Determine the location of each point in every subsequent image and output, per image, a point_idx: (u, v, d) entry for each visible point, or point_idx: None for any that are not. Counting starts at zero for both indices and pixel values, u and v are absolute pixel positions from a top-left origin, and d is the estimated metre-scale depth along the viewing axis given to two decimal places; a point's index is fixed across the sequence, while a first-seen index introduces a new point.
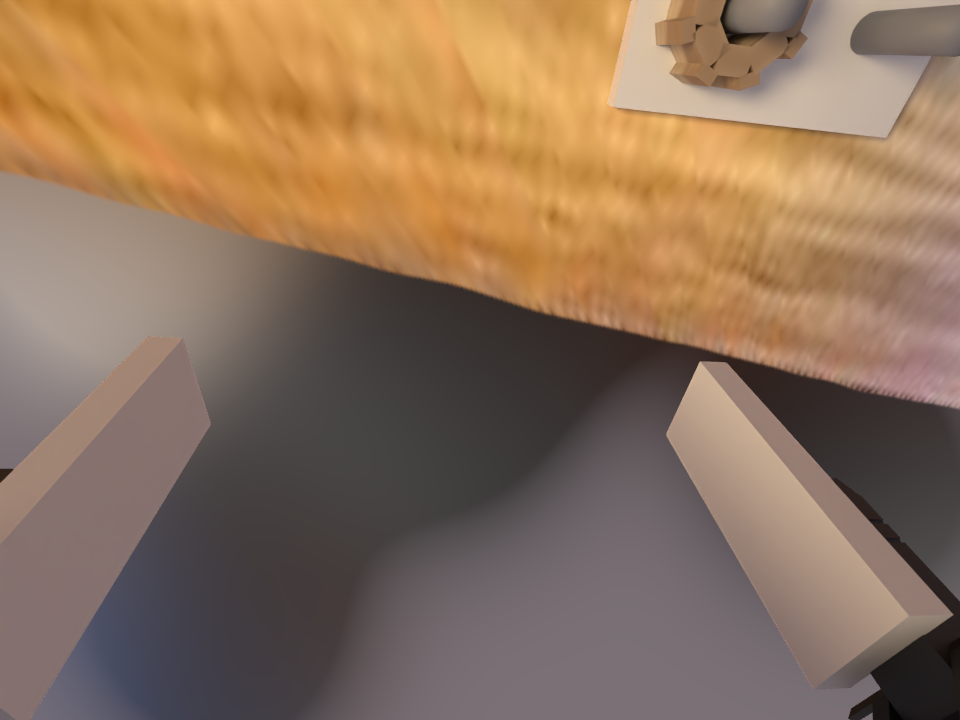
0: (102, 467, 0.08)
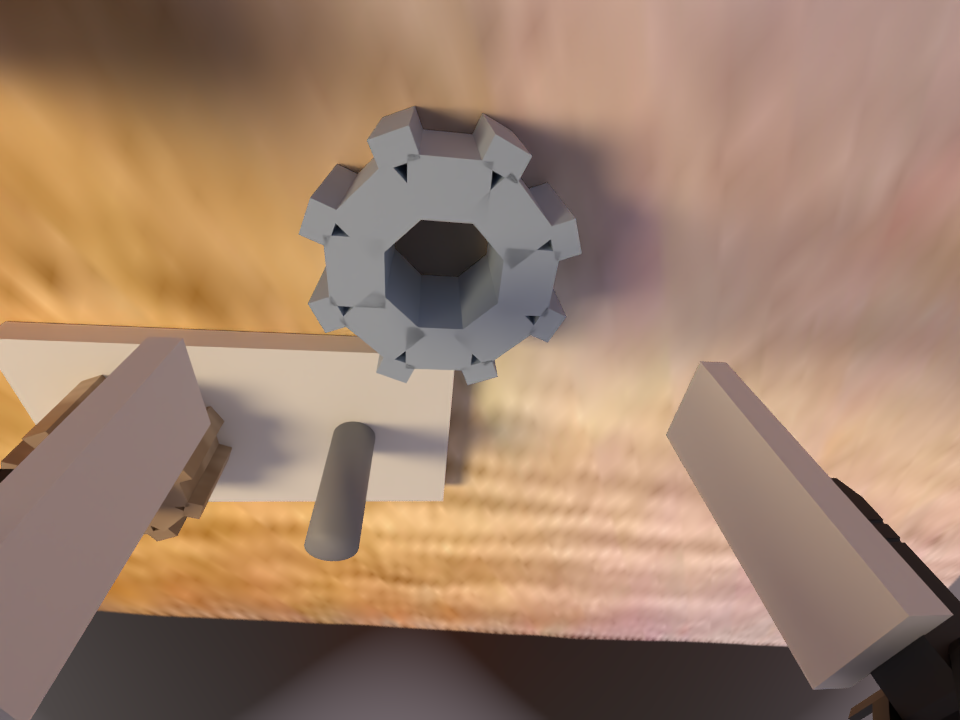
0: (102, 467, 0.08)
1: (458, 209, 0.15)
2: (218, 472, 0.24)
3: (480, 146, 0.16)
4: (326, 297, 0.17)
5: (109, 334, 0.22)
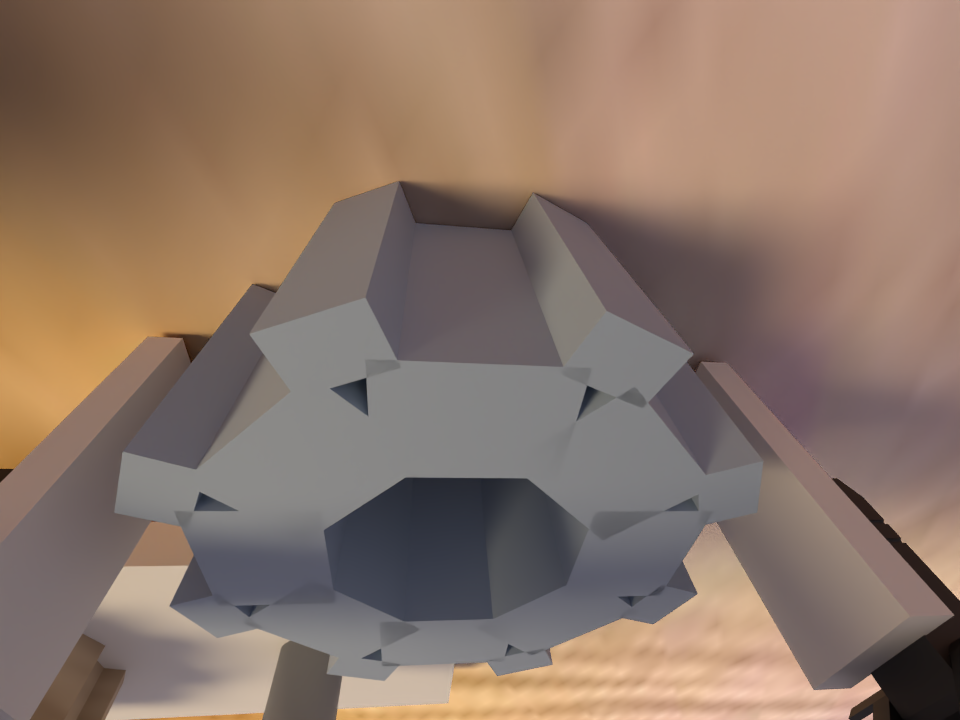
0: (102, 467, 0.08)
1: (495, 456, 0.06)
2: None
3: (544, 296, 0.07)
4: (208, 592, 0.08)
5: None
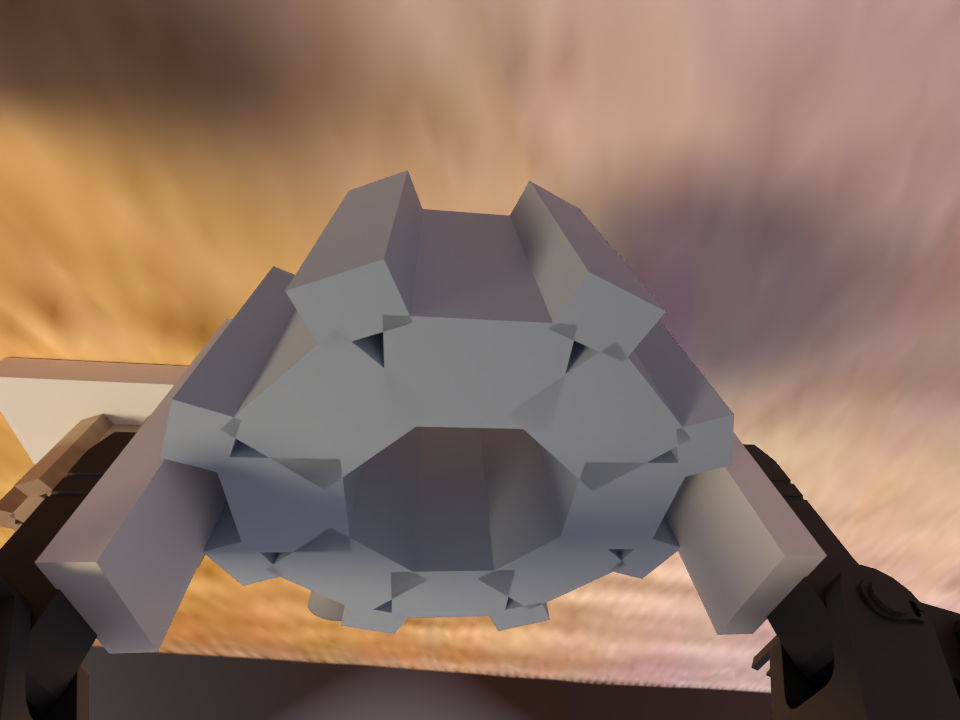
0: None
1: (494, 407, 0.07)
2: None
3: (538, 268, 0.08)
4: (237, 540, 0.09)
5: (111, 372, 0.21)
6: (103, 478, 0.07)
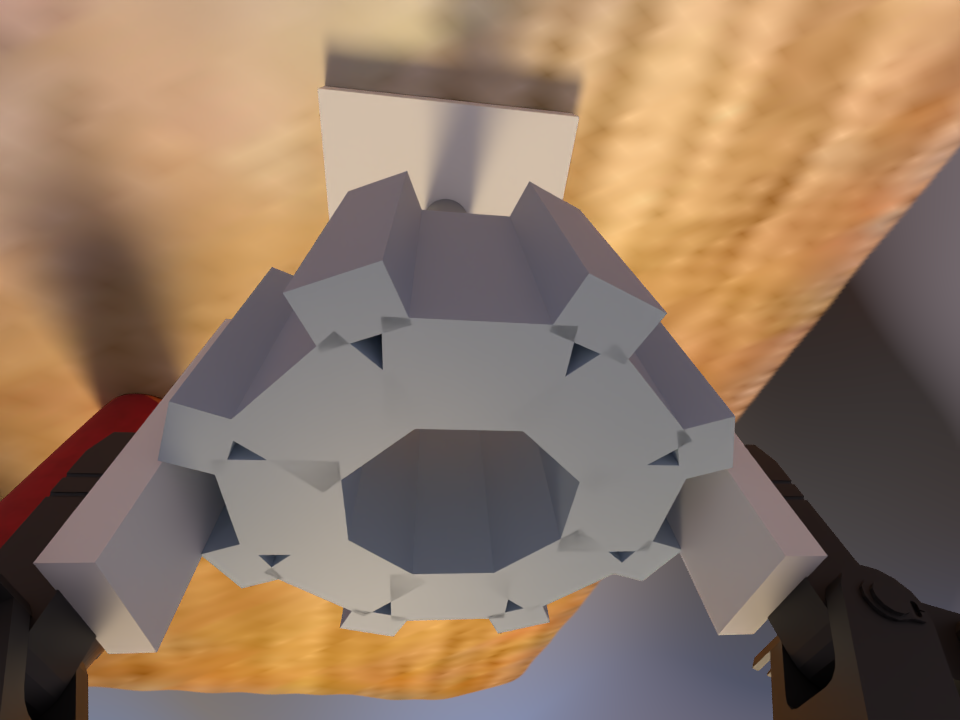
0: None
1: (494, 409, 0.07)
2: None
3: (538, 269, 0.08)
4: (235, 542, 0.09)
5: None
6: (102, 478, 0.07)
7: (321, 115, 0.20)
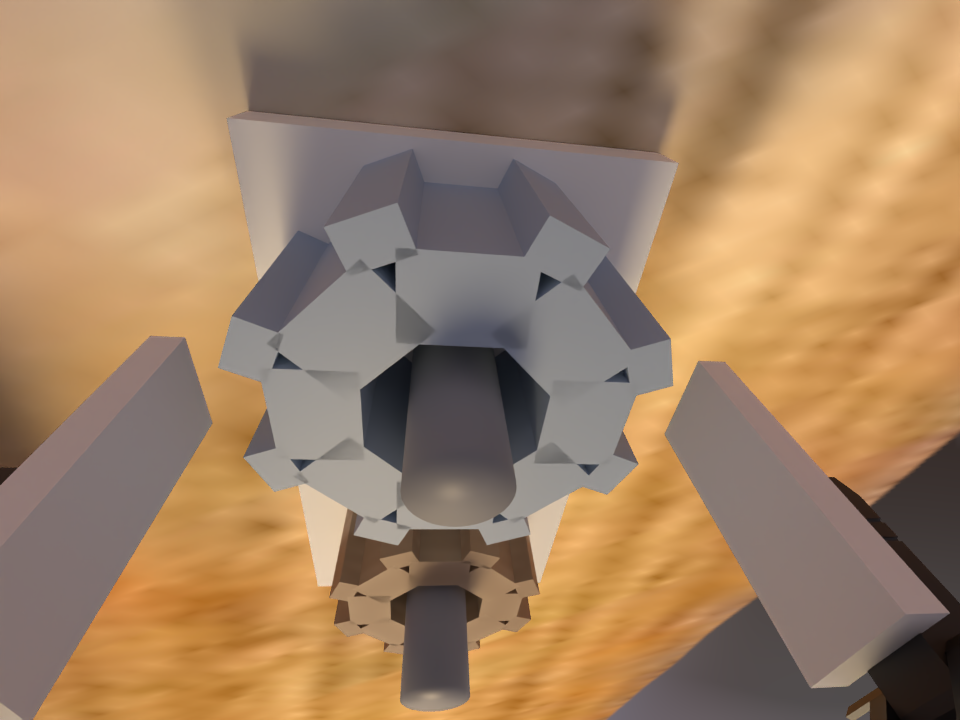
0: (104, 466, 0.08)
1: (481, 329, 0.09)
2: None
3: (516, 222, 0.10)
4: (272, 447, 0.11)
5: None
6: None
7: (238, 163, 0.12)
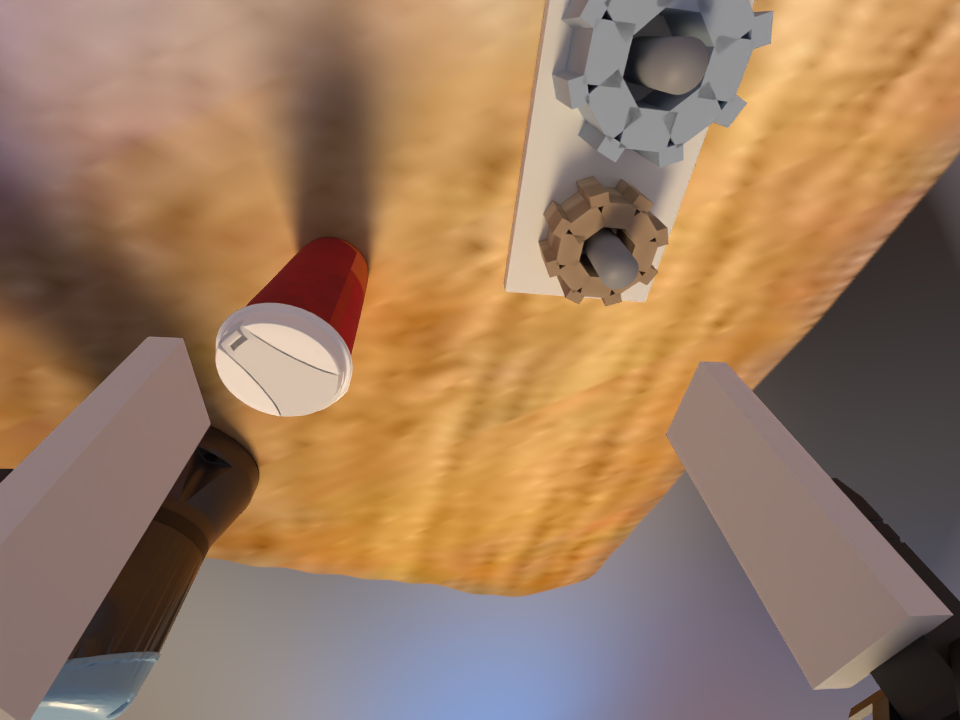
0: (102, 467, 0.08)
1: None
2: (628, 186, 0.30)
3: None
4: (581, 76, 0.24)
5: (513, 228, 0.34)
6: None
7: None
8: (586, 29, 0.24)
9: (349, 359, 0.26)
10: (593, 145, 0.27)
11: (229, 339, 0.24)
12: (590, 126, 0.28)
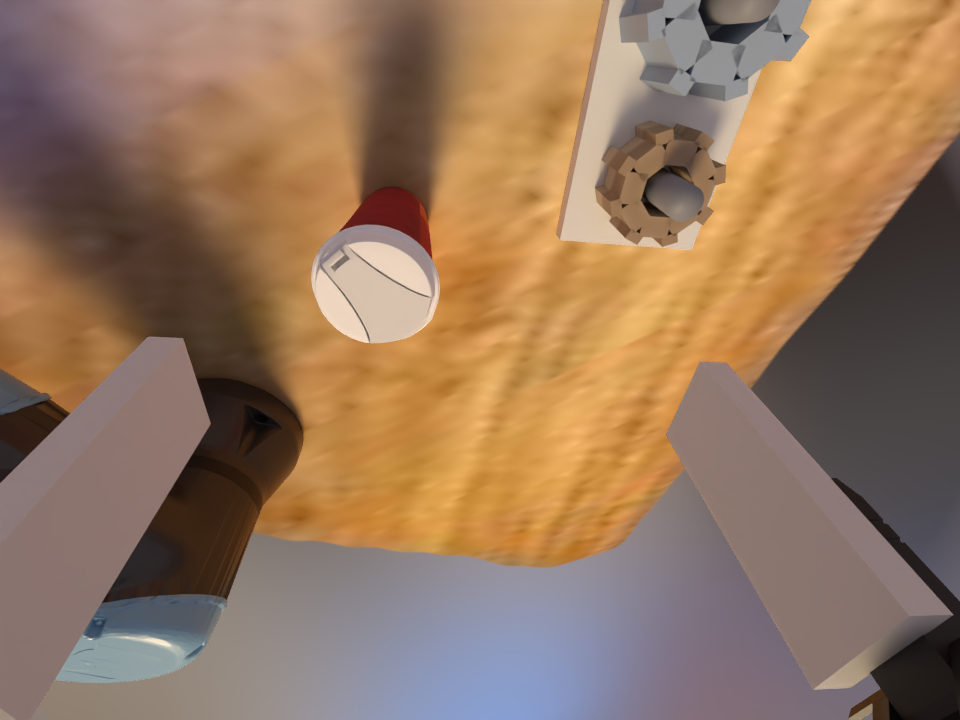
0: (103, 467, 0.08)
1: None
2: (687, 127, 0.32)
3: None
4: (660, 8, 0.26)
5: (570, 175, 0.36)
6: None
7: None
8: None
9: (438, 284, 0.27)
10: (662, 81, 0.28)
11: (332, 259, 0.25)
12: (654, 67, 0.30)
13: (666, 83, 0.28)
